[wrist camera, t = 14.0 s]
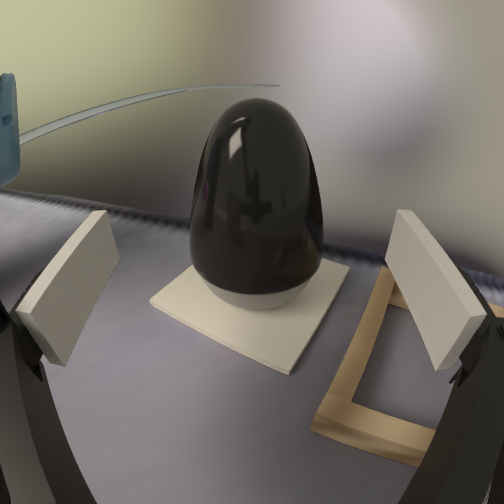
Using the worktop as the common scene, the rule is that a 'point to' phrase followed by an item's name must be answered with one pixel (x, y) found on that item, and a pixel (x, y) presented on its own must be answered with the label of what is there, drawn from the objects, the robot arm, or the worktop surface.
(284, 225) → the black egg-shaped piece
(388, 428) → the wooden picture frame
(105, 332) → the worktop surface
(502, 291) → the worktop surface
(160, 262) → the worktop surface
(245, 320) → the tile
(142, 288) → the worktop surface
